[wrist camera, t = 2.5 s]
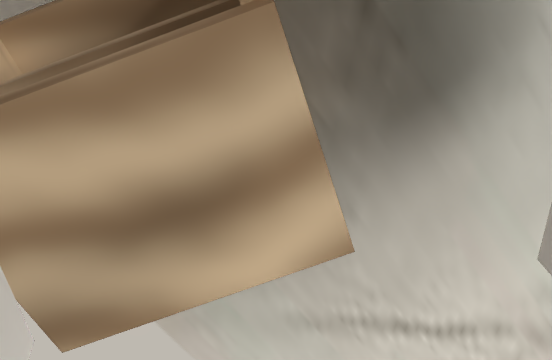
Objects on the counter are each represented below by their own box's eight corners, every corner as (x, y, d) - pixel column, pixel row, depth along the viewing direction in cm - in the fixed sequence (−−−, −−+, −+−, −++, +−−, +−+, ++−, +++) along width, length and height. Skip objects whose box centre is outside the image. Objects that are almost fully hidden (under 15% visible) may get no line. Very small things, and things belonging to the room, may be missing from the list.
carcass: (-20, 29, 31) (-136, 126, 20) (237, -70, 30) (265, -26, 19) (98, 209, 38) (62, 352, 27) (306, 135, 37) (354, 251, 26)
